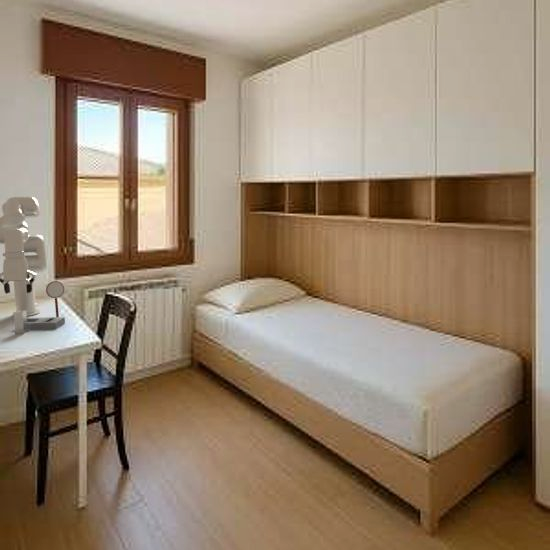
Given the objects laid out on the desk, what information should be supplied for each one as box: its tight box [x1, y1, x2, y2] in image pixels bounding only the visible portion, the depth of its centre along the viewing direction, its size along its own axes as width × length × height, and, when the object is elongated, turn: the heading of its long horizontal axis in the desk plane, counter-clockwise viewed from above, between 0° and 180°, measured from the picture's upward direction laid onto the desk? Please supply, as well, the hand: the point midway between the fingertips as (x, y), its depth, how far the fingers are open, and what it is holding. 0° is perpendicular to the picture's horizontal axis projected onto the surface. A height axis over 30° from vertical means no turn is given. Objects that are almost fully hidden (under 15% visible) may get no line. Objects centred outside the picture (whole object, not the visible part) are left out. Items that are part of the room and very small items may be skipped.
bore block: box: [27, 316, 66, 330], centre depth 236 cm, size 11×19×3 cm, turn 93°
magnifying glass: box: [45, 280, 65, 317], centre depth 247 cm, size 9×2×20 cm, turn 126°
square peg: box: [12, 311, 29, 335], centre depth 224 cm, size 4×4×10 cm
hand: (18, 292), depth 222 cm, fingers open, 9 cm apart
